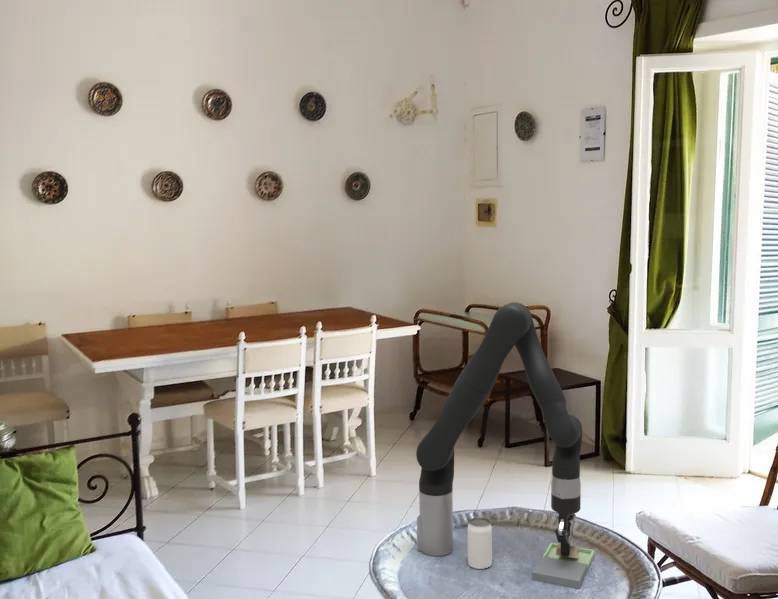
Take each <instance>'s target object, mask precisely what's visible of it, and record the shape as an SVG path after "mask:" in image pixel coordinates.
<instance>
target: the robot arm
mask: <svg viewBox="0 0 778 599" xmlns="http://www.w3.org/2000/svg"><path fill="white" fill-rule="evenodd" d="M534 323H535V322H534V320H533V316H532V313H531V311H530V309H529V308H528V307H527V306H526V305H525V304H523V303H519V302H517V301H516V302H515V301H513V302H510V303H509V302H508V303H507V304H504V305H503V306H500V307H499V308H498V309H497V310H496V311H495V313H494V314H493V317H492V320H491V322H490V324H489V326H488V329H487V331H486V333H485V335H484V338H483V339H482V341H481V343H480V344H479V347H478V348H477V350H476V351H475V352H474V353H473V355H472V356H471V357H470V359H469V360H468V362H467V364H466V365H465V366H464V368H463V369H462V371H461V373H460V374H459V375H458V377H457V378H456V381H455V382H454V384H453V386H452V388H451V390H450V392H449V394H448V396H447V398H446V400H445V402H444V405H443V407H442V409H441V411H440V414H439V416H438V418H437V419H436V420H435V422H434V424H433V425H432V427H431V428H430V430H429V431H428V432H427V433H426V434H425V435H424V436H423V437H422V439H421V440H420V442H419V443H418V445H417V448H416V454H415V456H416V461H417V462H418V465H419V466H420V468H421V470H420V476H419V479H418V495H419V496H418V497H419V499H418V500H419V501H418V503H419V508H418V509H419V510H418V511H419V515H418V516H417V517H416V544H417V545H416V546H417V547H416V548H417V549H416V551H418V552H419V551H420V552H421V553H423V554H425V555H427V556H432V557H433V556H434V557H441V556H445V555H446V556H447V555H448V554H451V553H452V552H453V551H454V513H453V512H454V511H453V509H454V507H453V506H454V504H453V503H454V501H453V496H454V495H453V494H454V493H453V490H454V489H453V487H454V486H453V485H454V484H453V483H454V478H455V446H456V444H457V441H458V439H459V438H460V436H461V434H462V433H463V432H464V430H465V429H466V428H467V426H468V425H469V423H470V422H471V421H472V420H473V419H474V418H475V416H476V414H477V413H479V411H480V410H481V408H482V406H483V405H484V403H485V402H486V400H487V399H488V397H489V396H490V393H491V391H492V390H493V388H494V386H495V384H496V382H497V379H498V377H499V374H500V371H501V368H502V367H503V363H504V361H505V360H506V358H507V356H508V355H509V353H510V352H511V351H512V349H513V348H514V347H515V348H516V351H517V353H518V354H519V356H520V359H521V362H522V365H523V369H524V372H525V375H526V378H527V382H528V385H529V388H530V390H531V392H532V394H533V396H534V398H535V400H536V403H537V404H538V406H539V408H540V411H541V413H542V417H543V420H544V423H545V424H544V425H545V427H546V430H547V433H548V436H549V437H550V439H551V440H552V442H553V443H554V444H555V450H554V454H553V456H552V462H551V463H552V466H551V474H552V475H551V483H550V484H551V485H550V486H551V487H550V491H551V492H550V494H551V495H550V507H551V510H552V511H554V512H555V513H557V514H558V516H556V524H557V527H556V528H555V530H554V531H555V536H556V539H557V543H559V544H561V555H562V556H569V554H570V545H571V542H572V537H573V535H574V528H575V522H576V514H577V513H579V512H580V511H581V502H582V501H581V497H582V496H581V494H582V493H581V492H582V490H581V488H582V487H581V486H582V483H581V474H580V473H581V461H580V456H581V449H582V441H583V425H582V423H581V421H580V420H579V418H578V417H577V416H575V415H573V414H569V413H568V412H569V411H568V410H567V405H566V404H567V400H566V399H567V398H566V397H565V394H564V391H563V390H562V388H561V385H560V383H559V381H558V380H557V377H556V376H555V373H554V371H553V369H552V368H551V365H550V363H549V362H548V359H547V356H546V355H545V352H544V350H543V348H542V345H541V342H540V339H539V337H538V333H537V330H536V326H535V324H534Z"/></svg>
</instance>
